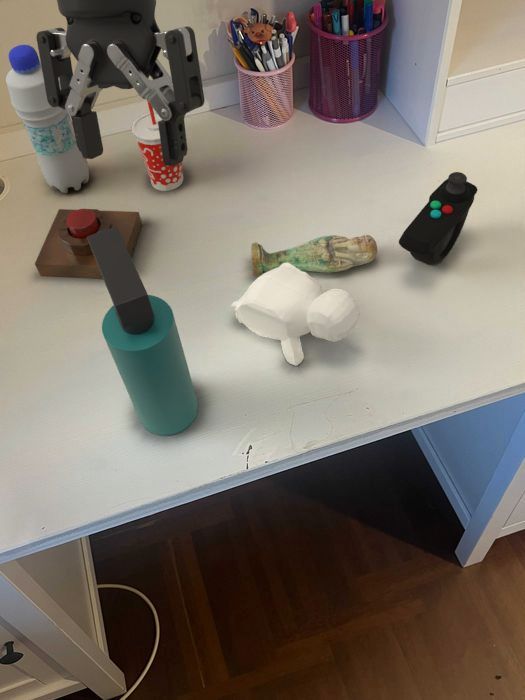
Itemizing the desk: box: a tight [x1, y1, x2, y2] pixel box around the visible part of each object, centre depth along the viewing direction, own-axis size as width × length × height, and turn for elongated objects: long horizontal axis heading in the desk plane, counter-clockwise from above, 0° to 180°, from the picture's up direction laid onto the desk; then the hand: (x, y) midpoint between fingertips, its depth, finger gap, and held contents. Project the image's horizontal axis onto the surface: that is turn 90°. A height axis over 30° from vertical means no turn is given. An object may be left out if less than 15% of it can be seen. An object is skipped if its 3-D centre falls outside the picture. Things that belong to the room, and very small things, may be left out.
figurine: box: [250, 234, 378, 277], centre depth 80 cm, size 6×15×4 cm, turn 87°
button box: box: [34, 208, 143, 280], centre depth 84 cm, size 11×10×4 cm
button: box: [67, 208, 99, 239], centre depth 82 cm, size 4×4×2 cm
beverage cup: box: [131, 100, 185, 192], centre depth 87 cm, size 6×6×14 cm
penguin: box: [230, 263, 360, 367], centre depth 72 cm, size 9×8×15 cm
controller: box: [398, 171, 478, 266], centre depth 77 cm, size 4×12×10 cm, turn 142°
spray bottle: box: [87, 227, 199, 436], centre depth 63 cm, size 11×6×20 cm, turn 24°
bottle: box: [5, 44, 90, 194], centre depth 86 cm, size 7×7×20 cm
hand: (133, 160), depth 58 cm, fingers open, 8 cm apart
